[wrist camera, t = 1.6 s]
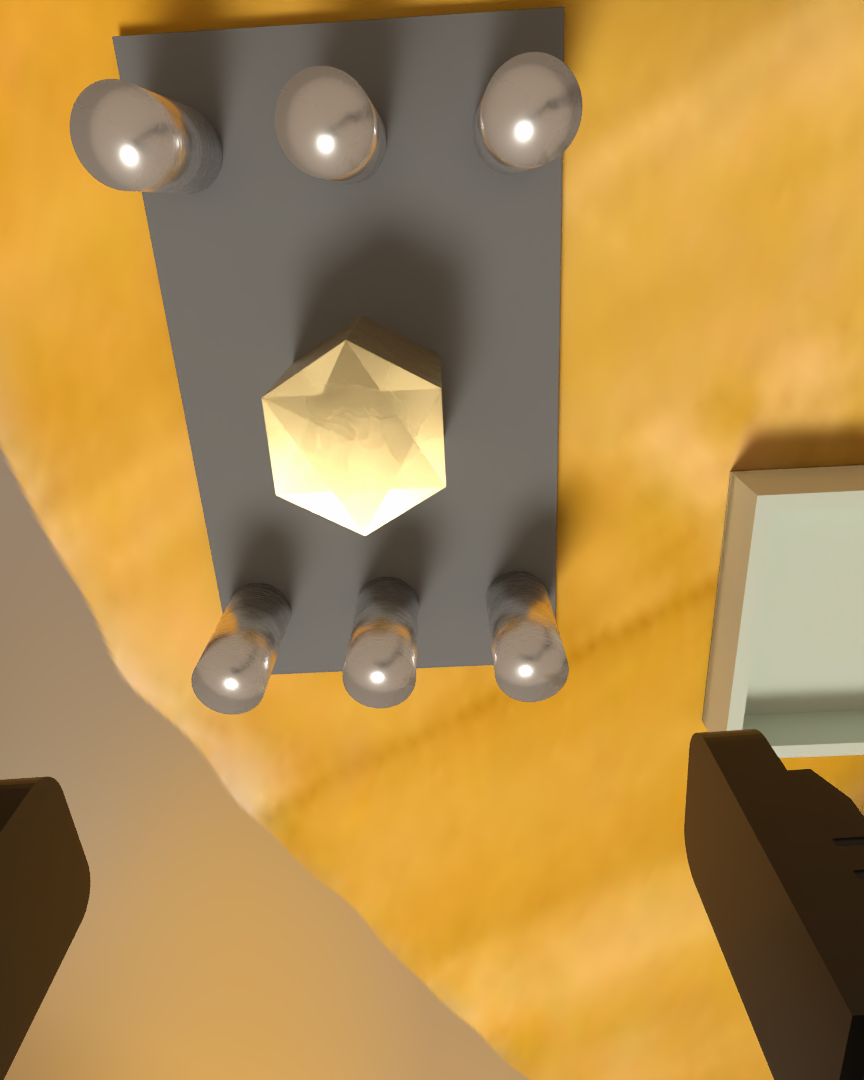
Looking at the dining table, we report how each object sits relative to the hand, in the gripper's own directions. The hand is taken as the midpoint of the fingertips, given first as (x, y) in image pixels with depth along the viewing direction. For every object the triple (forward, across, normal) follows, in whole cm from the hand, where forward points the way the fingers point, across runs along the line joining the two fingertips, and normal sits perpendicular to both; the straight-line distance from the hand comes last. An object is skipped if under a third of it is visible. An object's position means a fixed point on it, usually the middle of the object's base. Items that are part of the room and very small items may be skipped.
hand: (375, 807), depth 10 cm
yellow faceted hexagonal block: (+18, +1, -1) cm, 18 cm away
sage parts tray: (+19, -17, +8) cm, 27 cm away
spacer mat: (+19, +1, -1) cm, 19 cm away
